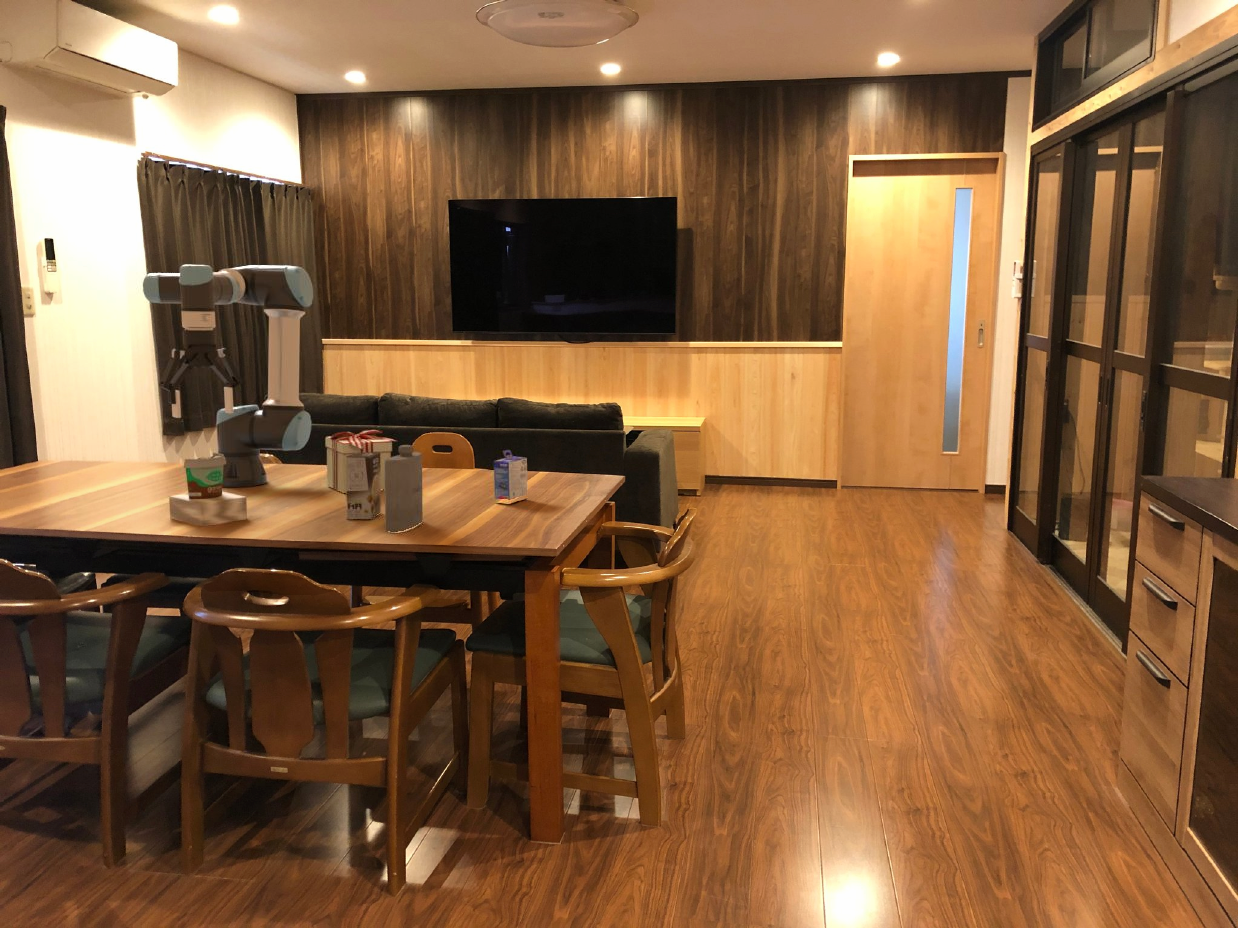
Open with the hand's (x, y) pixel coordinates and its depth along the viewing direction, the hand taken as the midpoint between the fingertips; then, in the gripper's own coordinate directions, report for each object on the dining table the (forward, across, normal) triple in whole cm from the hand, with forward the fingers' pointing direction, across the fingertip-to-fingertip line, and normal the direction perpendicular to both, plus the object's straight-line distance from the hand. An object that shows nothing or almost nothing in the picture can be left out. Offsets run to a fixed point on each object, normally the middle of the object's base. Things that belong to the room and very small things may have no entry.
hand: (203, 415), depth 236 cm
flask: (+25, +25, -46) cm, 59 cm away
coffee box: (+26, +26, -29) cm, 47 cm away
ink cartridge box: (+26, +66, -41) cm, 82 cm away
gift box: (+26, +49, +3) cm, 56 cm away
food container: (+20, -2, -5) cm, 21 cm away
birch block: (+26, -3, -5) cm, 26 cm away
